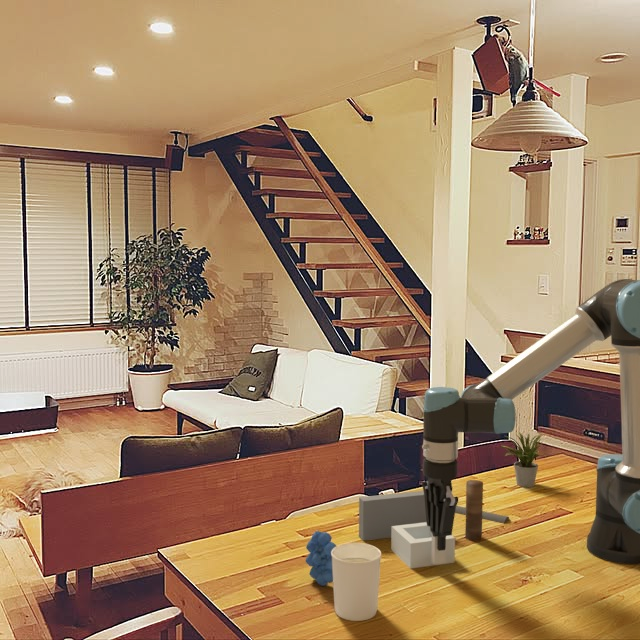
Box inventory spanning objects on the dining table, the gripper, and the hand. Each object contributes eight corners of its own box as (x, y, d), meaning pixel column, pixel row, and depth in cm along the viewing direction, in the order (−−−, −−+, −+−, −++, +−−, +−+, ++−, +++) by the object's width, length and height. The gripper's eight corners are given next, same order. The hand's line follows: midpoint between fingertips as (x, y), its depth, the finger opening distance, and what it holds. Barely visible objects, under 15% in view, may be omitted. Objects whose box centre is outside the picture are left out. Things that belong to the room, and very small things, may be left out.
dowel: (484, 539, 183) (486, 484, 182) (470, 541, 182) (471, 485, 180) (476, 533, 187) (477, 479, 185) (462, 535, 185) (463, 480, 184)
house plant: (521, 473, 237) (522, 423, 236) (559, 484, 227) (561, 431, 225) (493, 482, 228) (494, 430, 227) (531, 493, 218) (533, 439, 216)
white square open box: (454, 563, 169) (455, 537, 169) (410, 569, 166) (410, 543, 165) (433, 545, 180) (433, 521, 179) (391, 550, 176) (391, 526, 176)
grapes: (354, 591, 155) (354, 535, 154) (325, 598, 151) (326, 542, 150) (325, 570, 165) (326, 518, 164) (299, 577, 161) (299, 523, 160)
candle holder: (377, 599, 151) (378, 542, 150) (383, 623, 142) (384, 562, 140) (329, 599, 151) (329, 542, 150) (332, 623, 141) (332, 563, 140)
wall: (437, 531, 188) (437, 493, 187) (363, 540, 182) (363, 501, 181) (431, 527, 191) (432, 489, 190) (358, 536, 185) (359, 497, 184)
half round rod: (504, 525, 194) (504, 519, 193) (436, 511, 205) (436, 504, 204) (510, 521, 197) (510, 514, 197) (442, 506, 208) (442, 500, 208)
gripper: (412, 452, 168) (410, 552, 170) (438, 467, 155) (436, 576, 157) (441, 449, 170) (440, 548, 172) (470, 464, 158) (467, 572, 160)
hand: (438, 562), depth 165 cm, fingers closed
